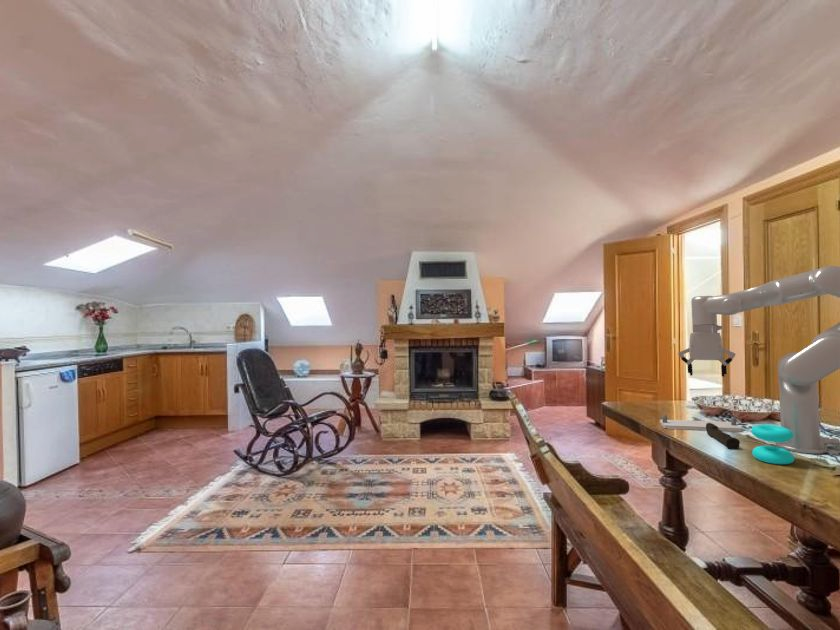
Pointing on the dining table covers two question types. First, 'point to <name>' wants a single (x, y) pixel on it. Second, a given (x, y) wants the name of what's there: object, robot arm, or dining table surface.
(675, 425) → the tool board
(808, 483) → the dining table surface
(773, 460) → the donuts
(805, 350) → the robot arm
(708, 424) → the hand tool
